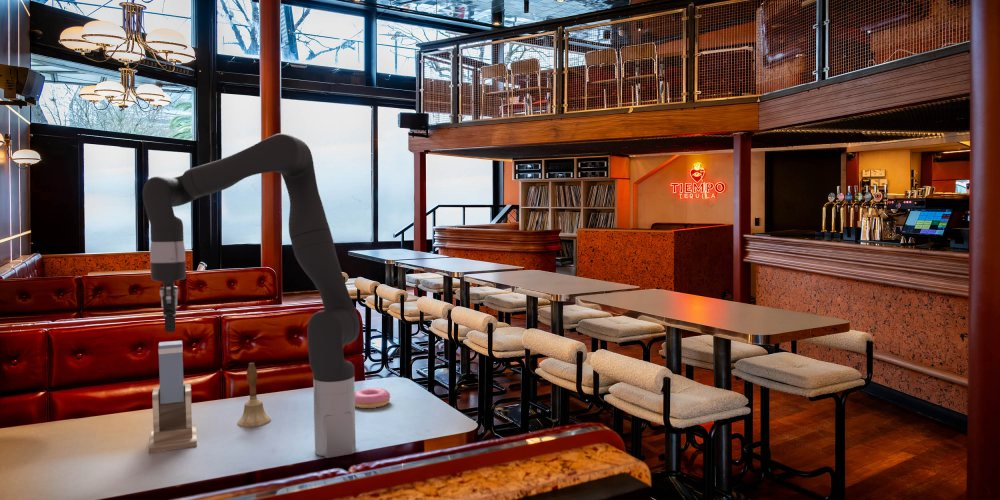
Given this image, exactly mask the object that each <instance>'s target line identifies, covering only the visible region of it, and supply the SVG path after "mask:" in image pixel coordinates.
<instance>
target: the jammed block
mask: <svg viewBox="0 0 1000 500" xmlns="http://www.w3.org/2000/svg"><path fill="white" fill-rule="evenodd" d="M157 350H158V368H159V370H158V371H159V387H160V404H165V403H173V402H182V401H184V384H185V383H184V361H183V358H184V357H183V353H184V352H183V340H173V341H172V340H171V341H159V343H158V349H157Z"/></svg>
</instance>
